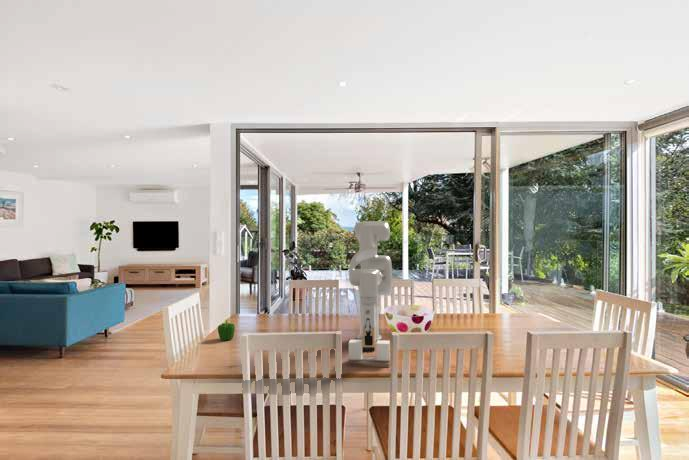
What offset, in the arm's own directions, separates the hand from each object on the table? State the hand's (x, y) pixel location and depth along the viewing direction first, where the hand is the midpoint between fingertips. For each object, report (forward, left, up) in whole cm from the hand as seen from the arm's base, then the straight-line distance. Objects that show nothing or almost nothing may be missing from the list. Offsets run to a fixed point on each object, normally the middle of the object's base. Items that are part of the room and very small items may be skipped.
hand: (369, 342), depth 178 cm
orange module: (0, 0, -1) cm, 1 cm away
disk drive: (-22, -6, -9) cm, 25 cm away
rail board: (0, 0, -8) cm, 8 cm away
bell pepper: (-29, -76, -9) cm, 82 cm away
